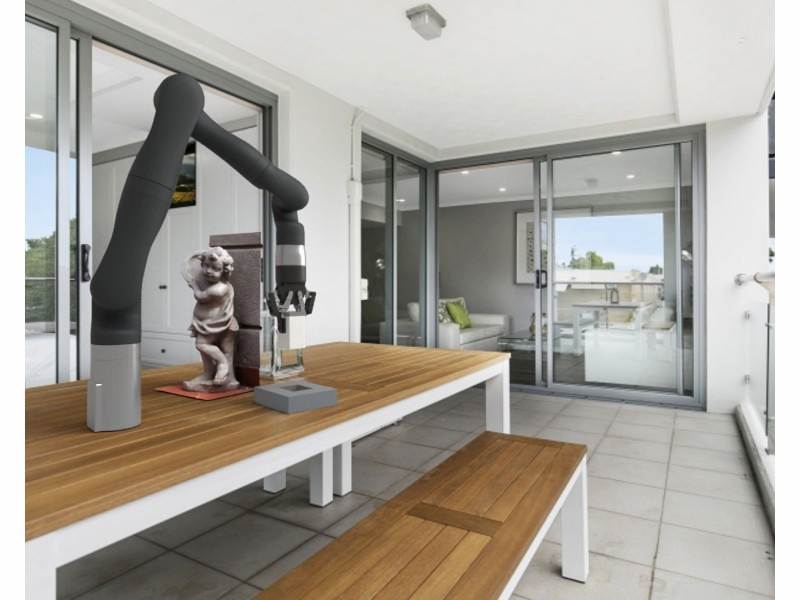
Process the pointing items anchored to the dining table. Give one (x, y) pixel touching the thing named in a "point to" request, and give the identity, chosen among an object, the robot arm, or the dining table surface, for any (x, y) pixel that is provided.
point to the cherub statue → (225, 315)
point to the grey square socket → (295, 396)
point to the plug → (293, 331)
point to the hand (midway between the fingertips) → (291, 332)
